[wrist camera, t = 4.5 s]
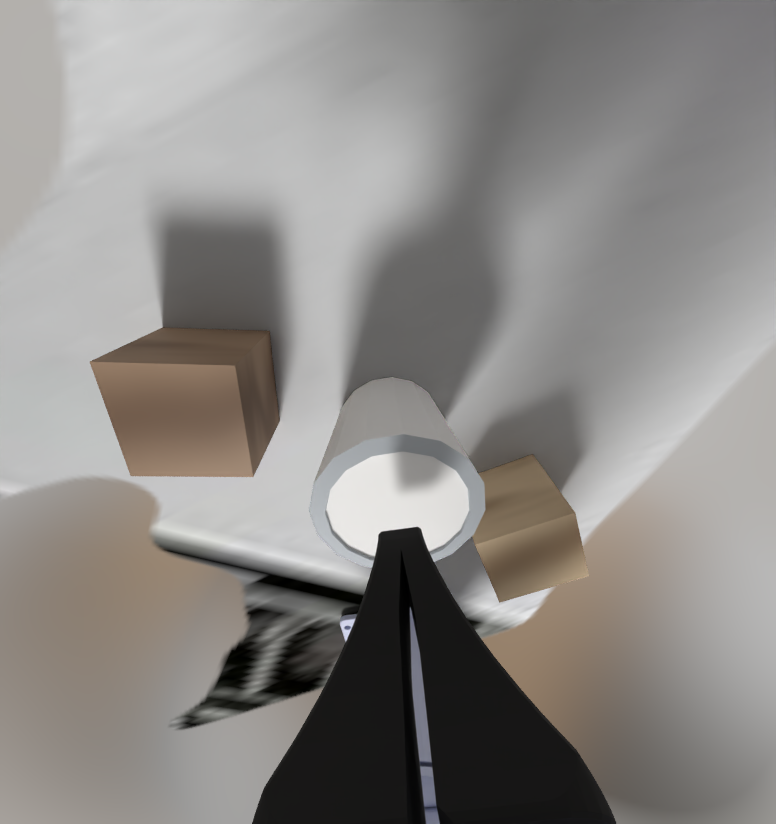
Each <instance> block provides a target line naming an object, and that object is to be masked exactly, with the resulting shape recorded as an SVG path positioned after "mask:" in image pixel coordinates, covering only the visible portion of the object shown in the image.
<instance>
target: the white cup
mask: <svg viewBox="0 0 776 824" xmlns="http://www.w3.org/2000/svg"><path fill="white" fill-rule="evenodd" d="M309 512H310V515H311V518H312V521H313V524H314V527H315V529H316V532H317V535H318V536H319V537H320V538H321V539H322V540H323V541H324V542H325V543H326V544H327V545H328V546H329V547H330V548H331V549H332V550H333V551H334V552H335V553H336V554H337V555H338V556H341V557H343V558H345V559H347V560H350V561H352V562H354V563H356V564H359V565H361V566H363V567H369V568H372V567H373V563H374V559H375V554H376V549H377V543H378V535H379V533H380V532H381V531H389V530H396V529H404V528H412V527H419V528H420V529H421V530H422V534H423V537H424V540H425V543H426V546H427V548H428V550H429V553H430V555H431V557H432V559H433V561H434V562H435V561H438V560H440V559H442V558H444V557H446V556H449V555H451V554H453V553H454V552H455V551H456V550H457V549H458V548H459V547H461V546H462V545H463V544H464V543H465V542H466V541H467V540H468V539H469V538H470V537H472V536H473V535H474V533H475V531H476V529H477V527H478V525H479V523H480V520H481V518H482V516H483V514H484V512H485V487H484V482H483V480H482V479H481V477H480V475H479V474H478V472H477V471H476V469H475V467H474V466H473V464H472V462H471V461H470V459H469V458H468V456H467V454H466V453H465V451H464V449H463V448H462V446H461V445H460V443H459V441H458V440H457V438H456V436H455V435H454V433H453V432H452V430H451V428H450V427H449V425H448V423H447V422H446V420H445V419H444V417H443V415H442V414H441V412H440V410H439V409H438V407H437V406H436V404H435V402H434V401H433V399H432V398H431V396H430V394H429V393H428V392H427V391H426V390H424V389H423V388H421V387H420V386H418V385H417V384H416V383H414V382H413V381H409V380H404V379H399V378H395V377H388V378H382V379H376V380H371V381H369V382H368V383H366V384H364V385H363V386H361V387H359V388H358V389H356V390H354V391H353V392H352V394H351V395H350V397H349V398H348V399H347V401H346V402H345V403H344V405H343V406H342V409H341V412H340V414H339V417H338V420H337V422H336V425H335V428H334V430H333V433H332V436H331V438H330V441H329V444H328V446H327V449H326V452H325V454H324V457H323V460H322V463H321V465H320V468H319V471H318V473H317V476H316V479H315V481H314V485H313V490H312V496H311V502H310V507H309Z"/></svg>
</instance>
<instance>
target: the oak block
mask: <svg viewBox="0 0 776 824" xmlns="http://www.w3.org/2000/svg"><path fill="white" fill-rule="evenodd" d="M478 474H479V475H480V477H481V479H482V480H483V482H484V487H485V512H484V514H483V516H482V518H481V520H480V523H479V525H478V527H477V529H476V531H475V533H474V535H473V536H472V537H473V541H474V544H475V546H476V549H477V551H478V553H479V555H480V558H481V560H482V562H483V565H484V567H485V569H486V572H487V574H488V576H489V579H490V581H491V583H492V586H493V588H494V590H495V593H496V595H497V597H498V600H499V602H503V601H506V600H510V599H513V598H516V597H520V596H523V595H527V594H530V593H533V592H537V591H540V590H544V589H547V588H550V587H554V586H557V585H560V584H564V583H567V582H571V581H574V580H577V579H581V578H584V577H588V576H589V573H588V569H587V565H586V560H585V555H584V551H583V546H582V542H581V537H580V533H579V528H578V524H577V519H576V514H575V512H574V510H573V509H572V508H571V506H570V505H569V504H568V502H567V501H566V499H565V498H564V497H563V495H562V494H561V493H560V491H559V490H558V488H557V487H556V486H555V484H554V483H553V481H552V480H551V479H550V477H549V476H548V475H547V473H546V472H545V470H544V469H543V468H542V466H541V465H540V464H539V462H538V461H537V459H536V458H535V457H534V455H533V454H532V455H529V456H526V457H523V458H521V459H518V460H515V461H512V462H509V463H506V464H504V465H501V466H498V467H495V468H492V469H489V470H487V471H484V472H481V473H478Z"/></svg>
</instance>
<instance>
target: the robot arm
mask: <svg viewBox="0 0 776 824" xmlns="http://www.w3.org/2000/svg"><path fill="white" fill-rule="evenodd" d="M410 606H411V607H410ZM340 626H341V629H342V632H343V635H344V638H345V641H346V643H345V645H344V647H343V650H342V652H341V654H340V656H339V658H338V660H337V662H336V664H335V667H334V669H333V671H332V673H331V675H330V677H329V679H328V681H327V683H326V685H325V687H324V689H323V690H322V692H321V694H320V696H319V698H318V700H317V702H316V703H315V705H314V707H313V709H312V710H311V712H310V714H309V716H308V717H307V719H306V721H305V723H304V724H303V726H302V728H301V730H300V732H299V733H298V735H297V737H296V738H295V740H294V741H293V743H292V745H291V746H290V748H289V749H288V751H287V753H286V754H285V756H284V757H283V759H282V760H281V762H280V764H279V765H278V767H277V768H276V770H275V771H274V773H273V775H272V777H271V778H270V779H269V781H268V783H267V784H266V786H265V788H264V790H263V793H262V795H261V798H260V801H259V804H258V807H257V810H256V813H255V816H254V819H253V822H252V824H616V821H615V818H614V816H613V814H612V811H611V809H610V807H609V805H608V803H607V801H606V799H605V797H604V795H603V793H602V791H601V789H600V788H599V786H598V784H597V782H596V781H595V779H594V777H593V776H592V774H591V772H590V771H589V769H588V767H587V766H586V764H585V763H584V761H583V759H582V758H581V756H580V755H579V753H578V752H577V750H576V749H575V748H574V747H573V746H572V745H571V744H570V743H569V742H568V741H567V740H566V739H565V737H564V736H563V735H562V734H561V733H560V732H559V731H558V730H557V729H556V728H555V727H554V726H553V725H552V724H551V723H550V722H549V720H548V719H547V718H546V717H545V716H544V715H543V714H542V713H541V712H540V711H539V709H538V708H537V707H536V706H535V705H534V704H533V703H532V701H531V700H530V699H529V698H528V697H527V696H526V695H525V694H524V692H523V691H522V690H521V689H520V688H519V686H518V685H517V684H516V683H515V681H514V680H513V679H512V678H511V677H510V675H509V674H508V673H507V672H506V670H505V669H504V668H503V667H502V666H501V664H500V663H499V662H498V661H497V659H496V658H495V657H494V656H493V654H492V653H491V652H490V650H489V649H488V648H487V646H486V645H485V644H484V642H483V641H482V640H481V638H480V637H479V635H478V634H477V633H476V631H475V630H474V628H473V627H472V625H471V624H470V623H469V621H468V620H467V618H466V617H465V615H464V614H463V612H462V610H461V609H460V607H459V606H458V604H457V602H456V601H455V599H454V598H453V596H452V594H451V593H450V591H449V589H448V588H447V586H446V584H445V582H444V580H443V578H442V577H441V575H440V573H439V571H438V569H437V567H436V565H435V563H434V561H433V559H432V557H431V555H430V553H429V550H428V548H427V546H426V543H425V540H424V537H423V534H422V530H421V529H420V528H419V527H412V528H404V529H396V530H389V531H381V532H380V533H379V535H378V543H377V549H376V554H375V559H374V563H373V567H372V570H371V574H370V577H369V580H368V584H367V587H366V591H365V594H364V597H363V599H362V602H361V605H360V608H359V610H358V613H357V614H351V615H345V616H342V617H341V618H340Z"/></svg>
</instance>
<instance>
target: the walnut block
mask: <svg viewBox="0 0 776 824" xmlns="http://www.w3.org/2000/svg"><path fill="white" fill-rule="evenodd" d="M90 364H91V367H92V370H93V372H94V375H95V378H96V381H97V384H98V386H99V389H100V392H101V395H102V397H103V400H104V403H105V406H106V409H107V411H108V414H109V417H110V420H111V422H112V425H113V428H114V431H115V433H116V436H117V439H118V442H119V445H120V447H121V450H122V453H123V456H124V458H125V461H126V464H127V467H128V470H129V472H130V475H131V476H194V477H253V476H254V474H255V472H256V470H257V468H258V466H259V464H260V462H261V459H262V457H263V455H264V453H265V451H266V449H267V447H268V445H269V442H270V440H271V438H272V436H273V434H274V432H275V430H276V428H277V426H278V423H279V412H278V403H277V394H276V385H275V375H274V366H273V357H272V348H271V339H270V331H257V330H226V329H194V328H161V329H158V330H156V331H154V332H152V333H150V334H148V335H146V336H144V337H141V338H139V339H137V340H135V341H133V342H131V343H129V344H127V345H124V346H122V347H120V348H118V349H116V350H114V351H112V352H109V353H107V354H105V355H103V356H101V357H99V358H97V359H95V360H92V361H90Z"/></svg>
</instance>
